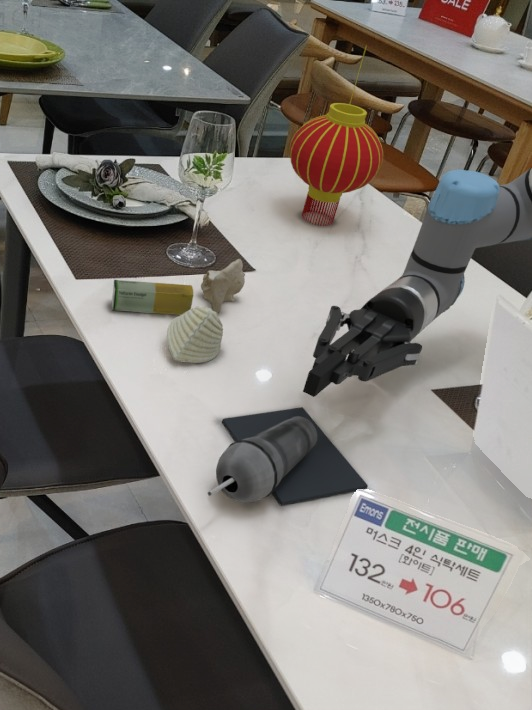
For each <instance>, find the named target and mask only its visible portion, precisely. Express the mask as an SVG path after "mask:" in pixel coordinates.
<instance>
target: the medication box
mask: <svg viewBox="0 0 532 710" xmlns="http://www.w3.org/2000/svg"><path fill="white" fill-rule="evenodd" d="M193 299H194V288H193V285H192V284H178V283H165V282H163V283H162V282H151V281H137V280H135V281H134V280H121V279H114V280H113V285H112V296H111V310H112V312H113V311H121V312H134V313H150V314H163V315H178V316H180V315H182V314H183V313H185V312H187V311H188V310H190V309H192V305H193V301H194V300H193Z"/></svg>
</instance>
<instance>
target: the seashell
mask: <svg viewBox="0 0 532 710" xmlns="http://www.w3.org/2000/svg"><path fill="white" fill-rule="evenodd" d="M223 325H224V324H223V323H222V321H221V319H220V317H219V313H218V314H217V313H216V312H215V311H213V309H212V308H211V307H206V306H196V307H191V309H190V310H188V311H187V312H185V313H183V314H182V315H178V316H176V317H174V318H173V319H171V321H170V322H169V324H168V327H167V330H166V339H167V344H168V349H169V352H170V354H171V356H172V359H173V360H174V361H176V362H182V363H191V364H197V363H207V362H209V361H211V360H213V359H215V358H216V357H217V356H218V355H219V354H220V351H221V344H222V340H223V335H224V327H223Z"/></svg>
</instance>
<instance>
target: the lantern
mask: <svg viewBox="0 0 532 710" xmlns="http://www.w3.org/2000/svg"><path fill="white" fill-rule="evenodd" d="M366 50H367V45H365V48H364V51H363V54H362V58H361V62H360V66H359V69H358V72H357V77H356V80H355V83H354V86H353V89H352V94H351V97H350V101H349V103H344V102H333V103H331V104H330V105H329V109H328V111H327V113H326V114H324V115H320V116H316V117H314V118H311V119H309V120H308V121H307V122H305V123H304V124H302V126H300V128H298V129H297V131H295V133H294V135H293V136H292V138H291V140H290V143H289V150H288V151H289V158H290V164H291V167H292V169H293V171H294V172H295V174H296V176H298V177H299V179H301V180H302V181H303V183H305V184H306V185H308V191H307V194H306V198H305V201H304V205H303V209H302V212H301V218H302V219H303V221H304V222H307V223H309V224H312V225H314V226H316V225H317V226H320V227H321V226H322V227H326V226H327V227H328V226H331V225H333V223H334V221H335V217H336V213H337V211H338V208H339V204H340V201H341V197H342V196H343V194H346V193H352V192H353V191H357V190H359V189H362V188H364V187H365V186H367V185H368V184H369V183H371V182H372V181H373V179H374V178H375V177H376V176H377V174H378V173H379V172H380V169H381V167H382V165H383V160H384V150H383V146H382V143H381V141H380V138H379V136H378V134H377V133H376V131H375V130H374V129H373V128H372V127H370V126H369V124H366V118H367V115H368V112H367V111H366V109H364V108H362V107H361V106H357V105H354V104H351V103H352V100H353V95H354V92H355V88H356V86H357V83H358V80H359V79H358V78H359V74H360V71H361V68H362V64H363V61H364V57H365V54H366V52H367V51H366Z"/></svg>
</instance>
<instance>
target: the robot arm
mask: <svg viewBox="0 0 532 710" xmlns="http://www.w3.org/2000/svg"><path fill="white" fill-rule="evenodd" d="M529 240H532V167H530V168H529V169H527V170H525V172H523V173H521V174H520V175H519V176H518V177H516V178H515V179H513V180H512V181H510V182H509V183H505V184H499V183H498V182H497V181H496V180H495V179H494V178H492V177H490V176H489V175H487V174H484V173H482V172H479V171H475V170H472V169H471V170H470V169H469V170H464V169H461V168H460V169H452V170H449V171H447V172H446V173H444V174H443V175H442V176H441V177H440V180H439V182H438V185H437V186H436V188H435V191H434V193H433V195H432V197H430V200H429V202H428V205H427V209H426V212H425V215H424V218H423V221H422V223H421V226H420V229H419V232H418V235H417V237H416V240H415V242H414V245H413V247H412V251H411V252H410V255H409V258H408V260H407V262H406V266H405V267H404V270H403V273H402V274H401V276H400V277H398V278H397V279H396V280H394V281H392V283H390V284H389V285H388V286H386V287H385V288H383V289H382V290H381V291H379V292H378V293H377V294H375V295H373V297H371V298H370V299H369V300H367V301H366V303H365V304H363V306H362V307H361V308H360V309H354V310H352V311H350V312H349V313H345V312H344V311H342V310H341V308H340V306H338V305H331V306H330V309H329V313H328V315H327V319H326V322H325V326H324V327H323V329H322V331H321V333H320V334H319V336H318V338H317V341H316V343H315V344H316V345H315V348H314V350H313V354H312V357H313V358H314V362H313V365H312V367H311V370H309V371H308V374H307V377H306V380H305V383H304V387H303V390H302V392H303V393H304V394H306V395H309V396H311V397H312V398H315V397H316V396H318V394H320V393H321V392H322V391H324V390H325V389H326V388H327V387H328V386H330V385H331V384H334V385H337V386H338V385H340V384H342V383H343V382H344V381H345V380H347V379H348V378H351V377H353V376H356V377H357V380H358V381H361V382H364V383H365V382H369V381H371V380H373V379H376V378H378V377H380V376H383V375H385V374H387V373H389V372H391V371H394V370H396V369H398V368H401V367H407V366H414V365H416V364H417V361H418V359H419V356H420V354H421V352H422V350H423V345H422V344H421V343H419V342H412V341H413V340H414V339H415V338H416V337H417V336H418V335H419V334H420V333H421V332H423V331H424V330H425V329H426V328H428V326H429V325H430V324H431V323H432V322H434V320H436V319H437V318H438V317H440V316H441V314H443V313H445V312H446V311H448V310H449V309H450V308H451V307H452V306H454V305H455V303H456V302H457V300H458V298H459V297H460V296H461V294H462V292H463V290H464V287H465V282H466V281H465V280H466V279H465V272H466V270H467V268H468V266H469V263H470V261H471V259H472V257H473V255H474V252H475V250H476V249H478V248H480V249H481V248H484V247H490V246H495V245H499V244H507V243H512V242H522V241H529ZM344 325H346V326H347V330H348V331H346V332H345V333H344V334H342V335H341V336H340V337H338V338H337V339H336V340H334V339H335V336H336V334H337V332H339V331H340V330H341V328H343V327H344ZM333 340H334V342H333Z"/></svg>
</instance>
